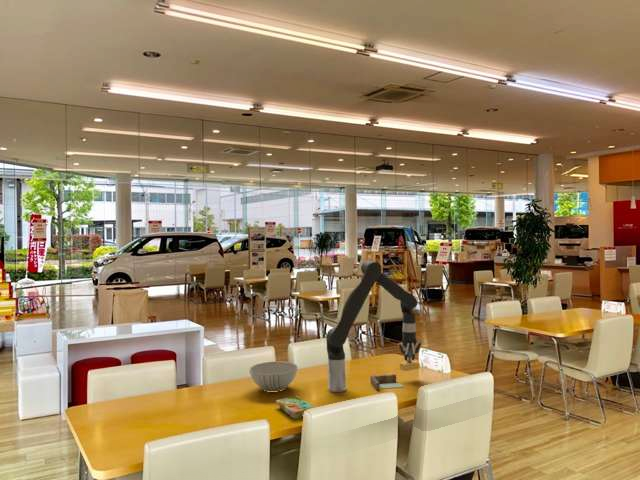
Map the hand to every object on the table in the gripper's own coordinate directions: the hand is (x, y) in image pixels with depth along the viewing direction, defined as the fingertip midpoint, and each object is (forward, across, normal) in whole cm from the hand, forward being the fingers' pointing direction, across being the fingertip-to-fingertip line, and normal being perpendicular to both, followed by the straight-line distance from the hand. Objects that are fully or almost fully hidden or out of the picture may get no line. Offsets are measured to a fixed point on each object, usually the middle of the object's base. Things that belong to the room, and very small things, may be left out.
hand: (409, 360), depth 289 cm
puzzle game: (+13, -69, -36) cm, 79 cm away
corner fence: (+12, -16, -8) cm, 21 cm away
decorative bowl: (+13, -78, +1) cm, 79 cm away
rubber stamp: (+5, 0, 0) cm, 5 cm away
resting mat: (+11, -14, -8) cm, 19 cm away
